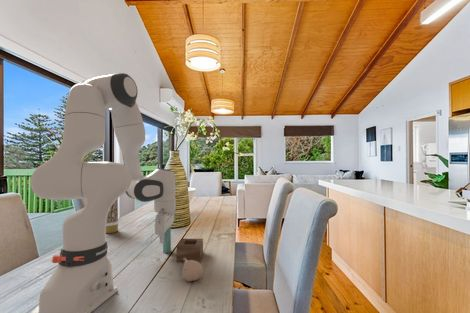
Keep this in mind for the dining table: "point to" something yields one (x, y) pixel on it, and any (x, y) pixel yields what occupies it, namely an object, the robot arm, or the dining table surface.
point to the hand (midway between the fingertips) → (165, 238)
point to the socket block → (190, 250)
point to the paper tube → (112, 218)
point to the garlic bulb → (192, 270)
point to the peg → (167, 241)
